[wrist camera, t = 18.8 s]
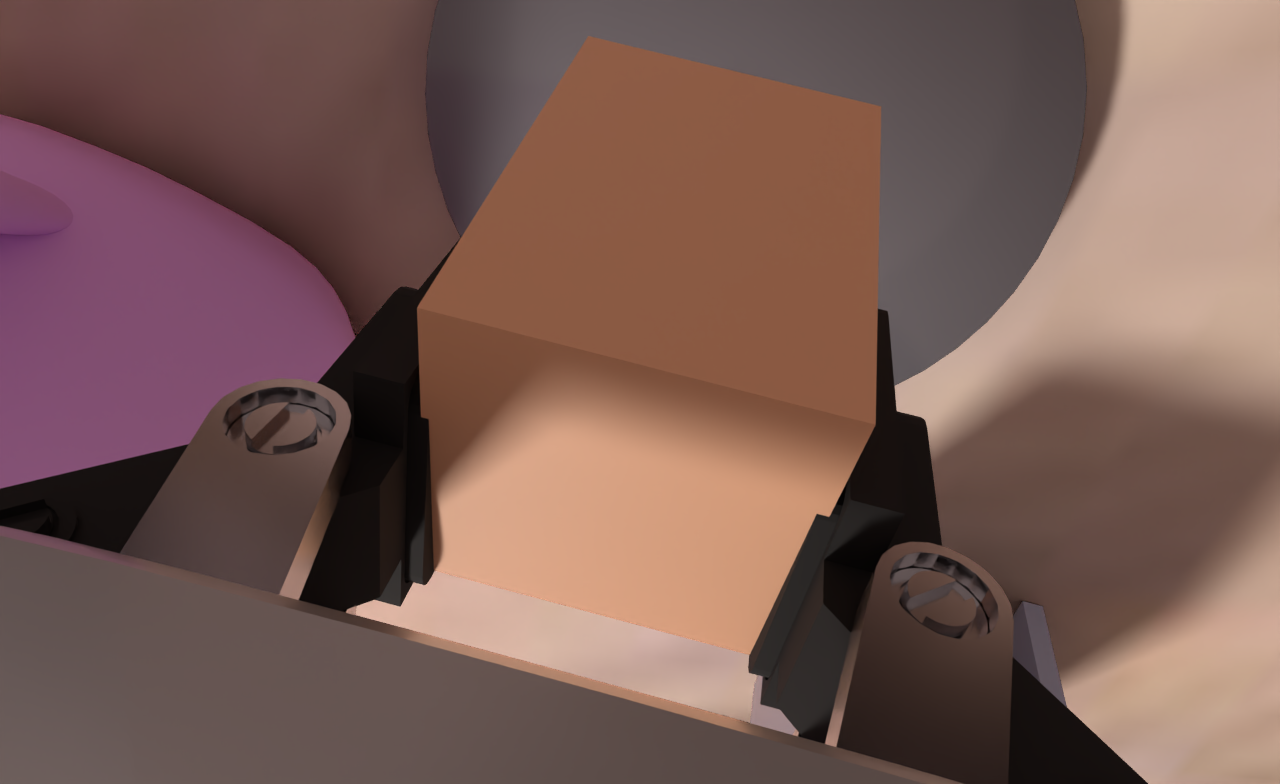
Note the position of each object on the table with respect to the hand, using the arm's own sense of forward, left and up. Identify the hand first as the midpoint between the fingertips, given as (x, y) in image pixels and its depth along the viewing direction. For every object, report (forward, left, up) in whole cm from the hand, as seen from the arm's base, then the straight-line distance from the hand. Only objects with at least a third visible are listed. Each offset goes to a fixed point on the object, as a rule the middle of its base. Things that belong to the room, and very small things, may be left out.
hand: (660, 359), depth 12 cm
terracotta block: (+1, -1, -2) cm, 3 cm away
